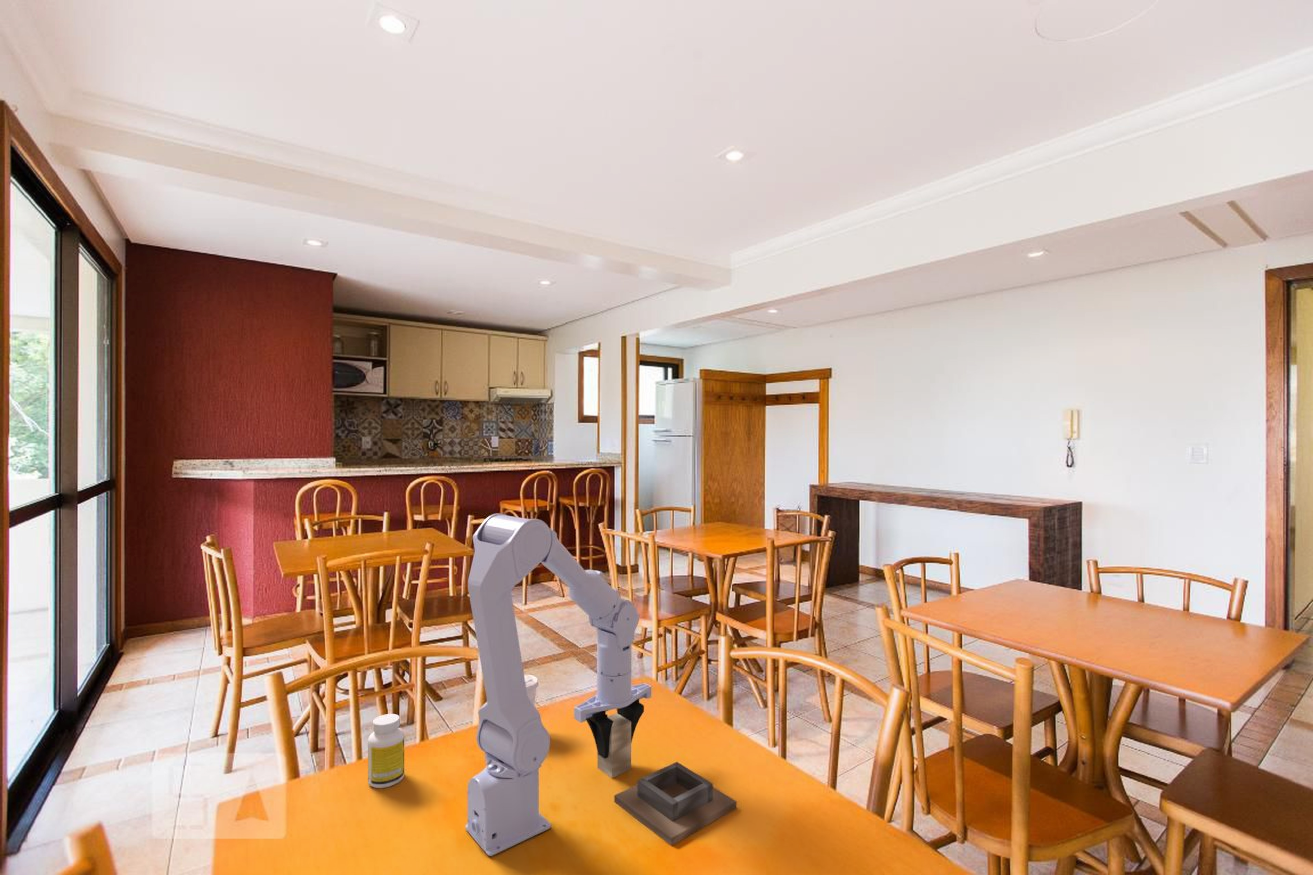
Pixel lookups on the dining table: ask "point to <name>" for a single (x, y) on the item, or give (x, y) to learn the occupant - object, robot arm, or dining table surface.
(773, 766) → the dining table surface
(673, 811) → the socket block
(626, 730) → the square peg
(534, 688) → the smoothie
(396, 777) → the supplement bottle
